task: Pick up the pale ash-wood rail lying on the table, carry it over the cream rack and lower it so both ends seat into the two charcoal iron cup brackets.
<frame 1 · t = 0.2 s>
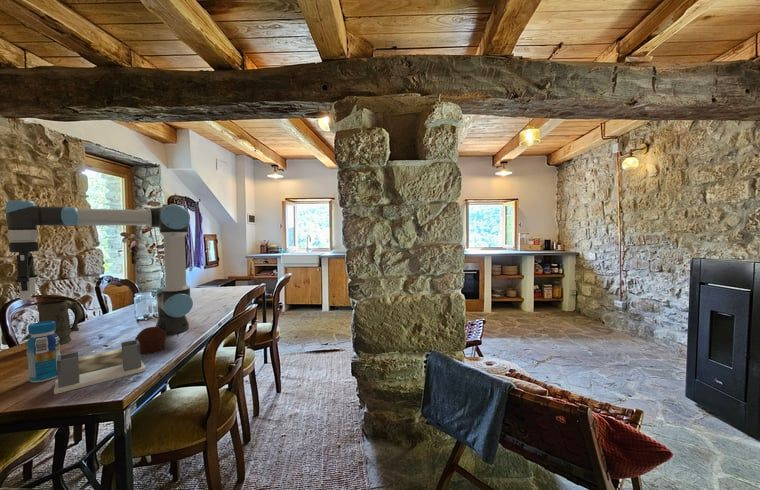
hand: (28, 296, 122), 28 cm above the table, tool pointing down, fingers open, 13 cm apart
beer stein: (61, 341, 153), on the table
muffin: (152, 350, 140), on the table
rail: (101, 367, 124), on the table
rack: (102, 376, 115), on the table
beverage bottle: (46, 378, 115), on the table
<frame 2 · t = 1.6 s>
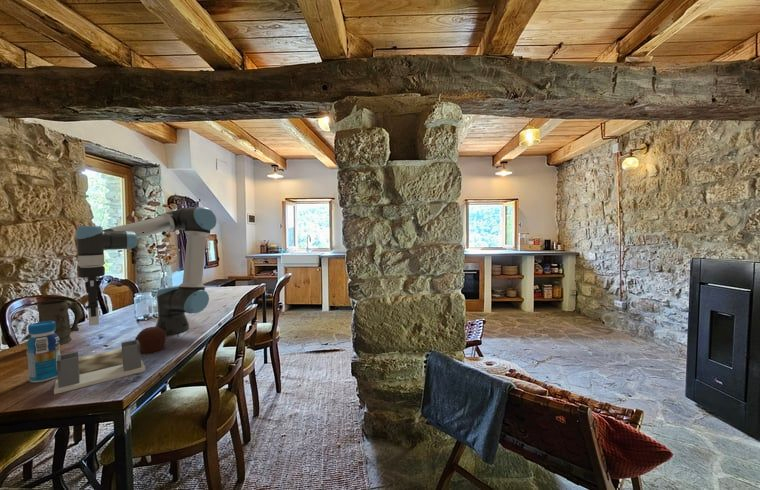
hand: (94, 321, 123), 18 cm above the table, tool pointing down, fingers open, 13 cm apart
nothing on the table moved.
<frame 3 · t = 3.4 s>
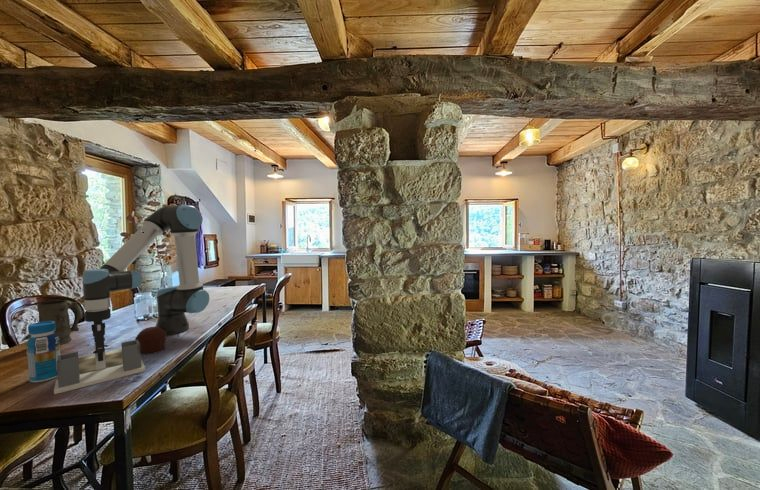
hand: (100, 363, 123), 1 cm above the table, tool pointing down, fingers open, 13 cm apart
nothing on the table moved.
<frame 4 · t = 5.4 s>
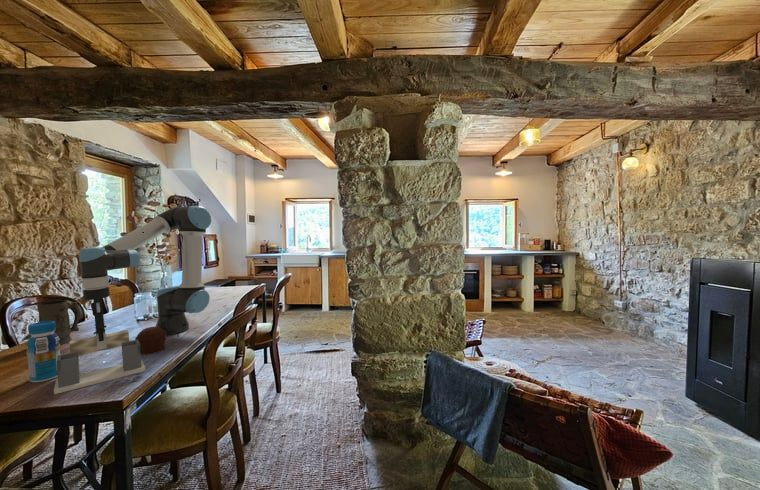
hand: (101, 346, 124), 8 cm above the table, tool pointing down, fingers closed on rail, 4 cm apart
rail: (101, 349, 124), point 7 cm above the table, touching gripper
everything else where it was.
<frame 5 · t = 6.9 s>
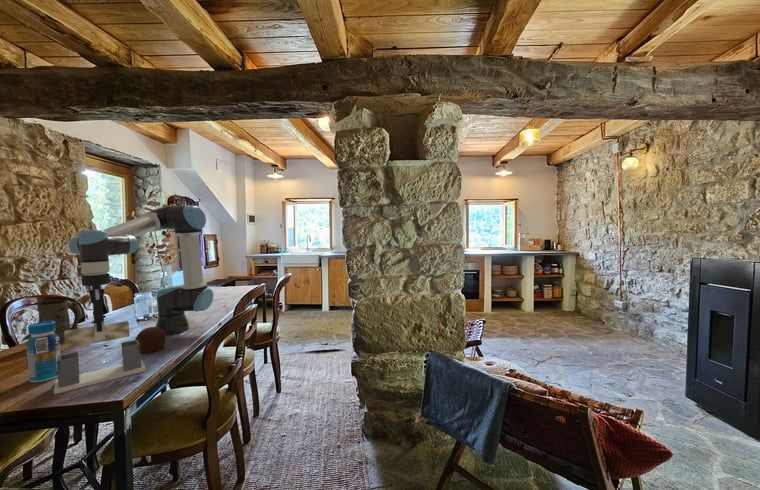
hand: (99, 338, 114), 14 cm above the table, tool pointing down, fingers closed on rail, 4 cm apart
rail: (98, 340, 114), point 13 cm above the table, touching gripper
everything else where it was.
when the fingers open (6 cm above the table, at t = 8.8 s): rail stays where it is, resting on rack.
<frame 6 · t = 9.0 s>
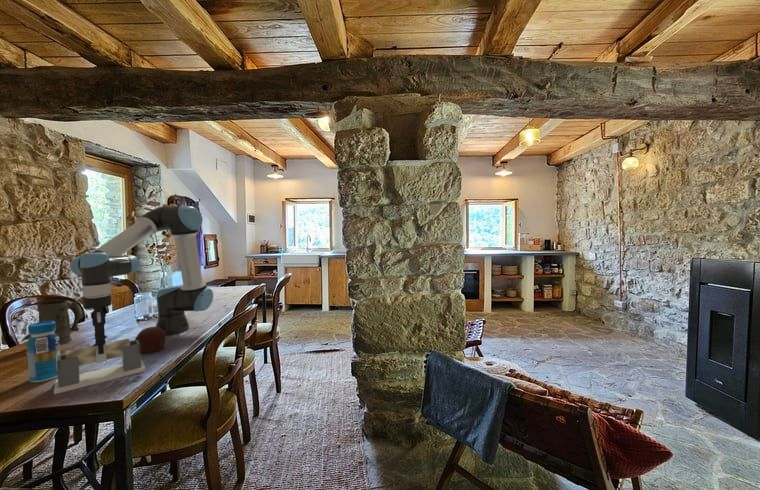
hand: (101, 359, 115), 6 cm above the table, tool pointing down, fingers open, 5 cm apart
rail: (100, 359, 114), point 7 cm above the table, touching rack
everything else where it was.
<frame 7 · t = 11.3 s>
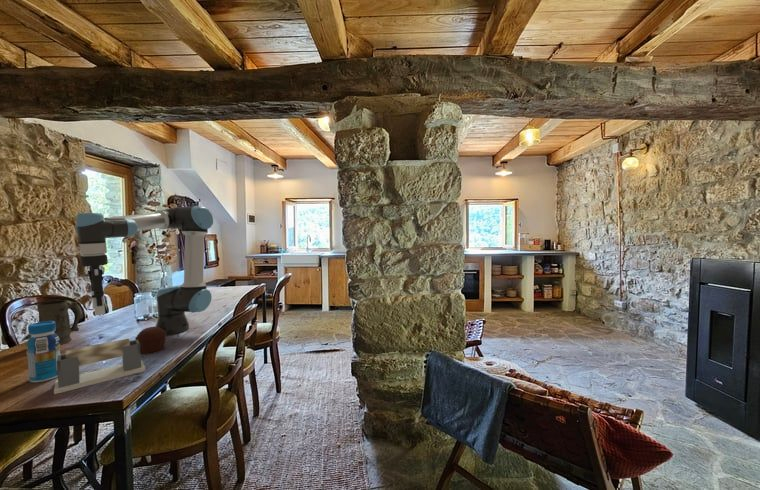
hand: (98, 311, 120), 23 cm above the table, tool pointing down, fingers open, 13 cm apart
nothing on the table moved.
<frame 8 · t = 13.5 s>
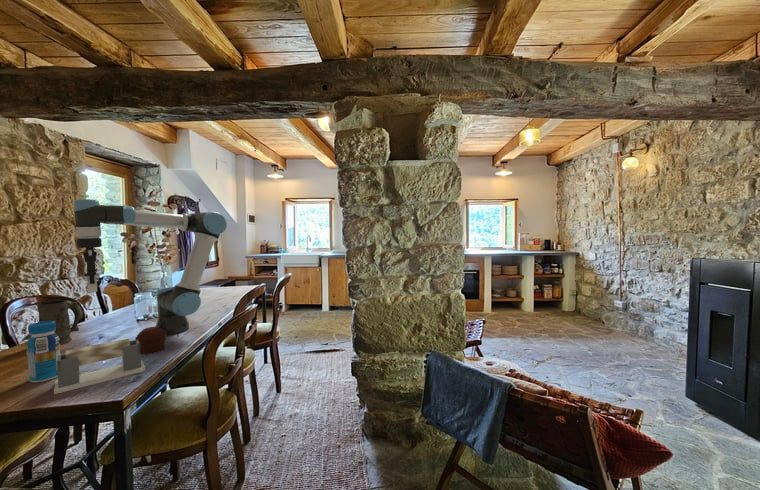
hand: (92, 289, 130), 29 cm above the table, tool pointing down, fingers open, 13 cm apart
nothing on the table moved.
at the end: rail 0.4 cm off-centre on the rack, point 6.6 cm above the rack's base; the gripper is holding nothing; rail moved 13.8 cm from its start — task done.
